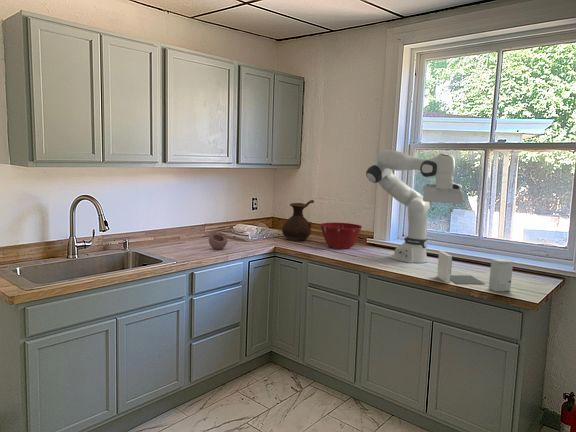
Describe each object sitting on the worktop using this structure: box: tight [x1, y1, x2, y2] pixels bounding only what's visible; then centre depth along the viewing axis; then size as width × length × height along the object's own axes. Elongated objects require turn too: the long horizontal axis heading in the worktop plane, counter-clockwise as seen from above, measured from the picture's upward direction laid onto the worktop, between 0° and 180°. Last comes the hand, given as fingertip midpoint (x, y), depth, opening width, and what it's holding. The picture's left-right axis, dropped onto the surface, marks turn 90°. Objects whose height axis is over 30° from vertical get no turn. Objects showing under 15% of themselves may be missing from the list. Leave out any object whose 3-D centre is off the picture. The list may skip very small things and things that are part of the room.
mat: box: [450, 274, 486, 285], centre depth 241 cm, size 15×16×1 cm
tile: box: [436, 250, 453, 284], centre depth 239 cm, size 2×12×14 cm, turn 3°
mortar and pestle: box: [208, 231, 228, 250], centre depth 299 cm, size 12×12×12 cm
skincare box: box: [488, 258, 514, 292], centre depth 224 cm, size 8×6×15 cm
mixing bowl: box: [319, 222, 363, 250], centre depth 317 cm, size 28×28×15 cm
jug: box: [281, 199, 315, 242], centre depth 340 cm, size 22×22×30 cm
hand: (441, 211), depth 242 cm, fingers open, 8 cm apart
